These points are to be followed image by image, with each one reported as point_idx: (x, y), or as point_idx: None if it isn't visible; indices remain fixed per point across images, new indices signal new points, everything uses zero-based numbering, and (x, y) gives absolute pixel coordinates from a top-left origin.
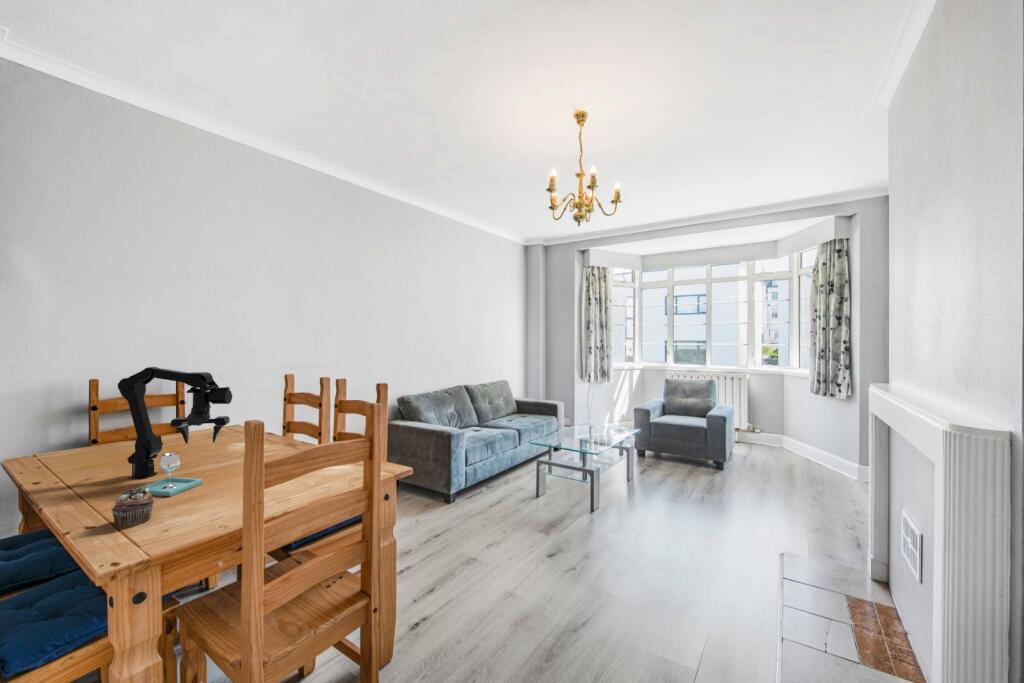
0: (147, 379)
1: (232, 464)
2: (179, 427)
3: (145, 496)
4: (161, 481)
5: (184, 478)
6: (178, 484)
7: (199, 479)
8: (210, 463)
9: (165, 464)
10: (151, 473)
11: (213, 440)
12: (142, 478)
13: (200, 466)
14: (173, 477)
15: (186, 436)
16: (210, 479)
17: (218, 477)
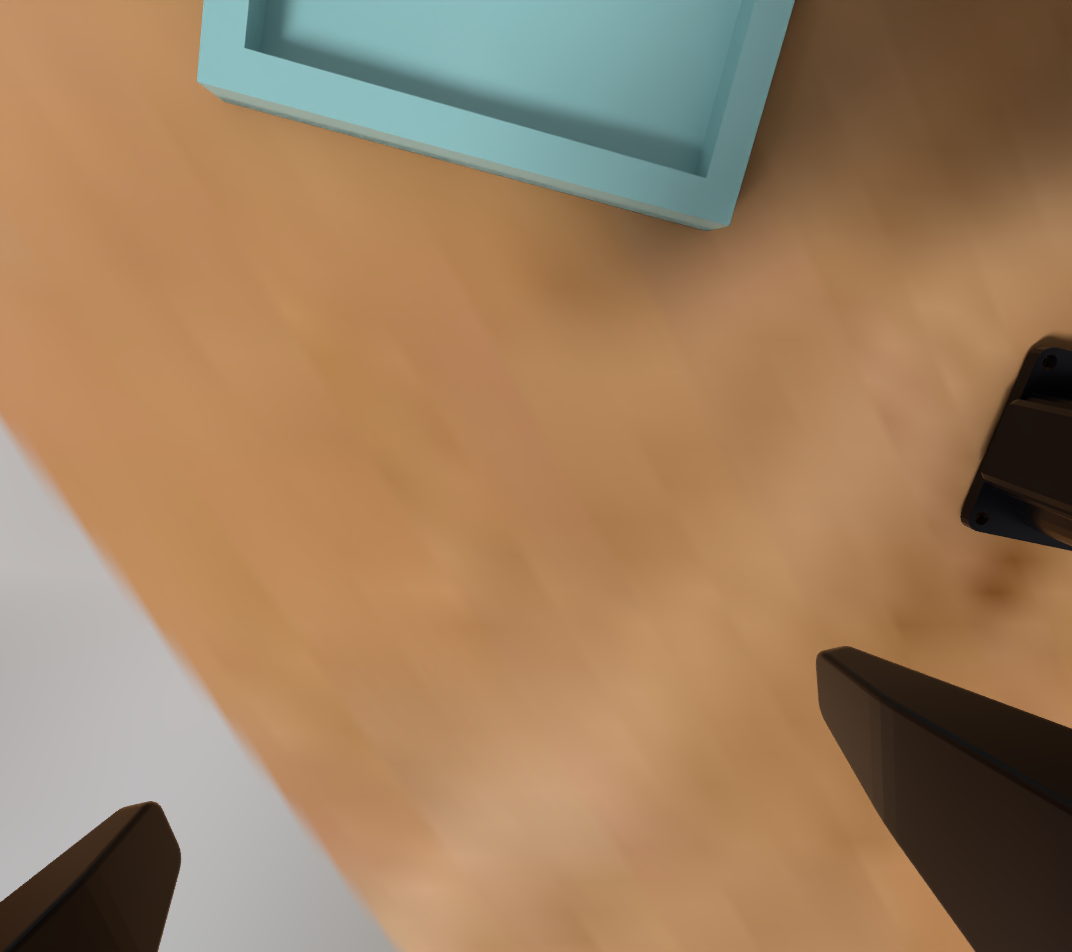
0: None
1: (359, 856)
2: None
3: None
4: (736, 56)
5: (483, 134)
6: (487, 9)
7: (231, 61)
8: (611, 875)
9: None
10: (1006, 443)
11: (93, 844)
12: (1037, 347)
13: (657, 782)
14: (657, 196)
15: (993, 805)
16: (246, 303)
17: (197, 385)
